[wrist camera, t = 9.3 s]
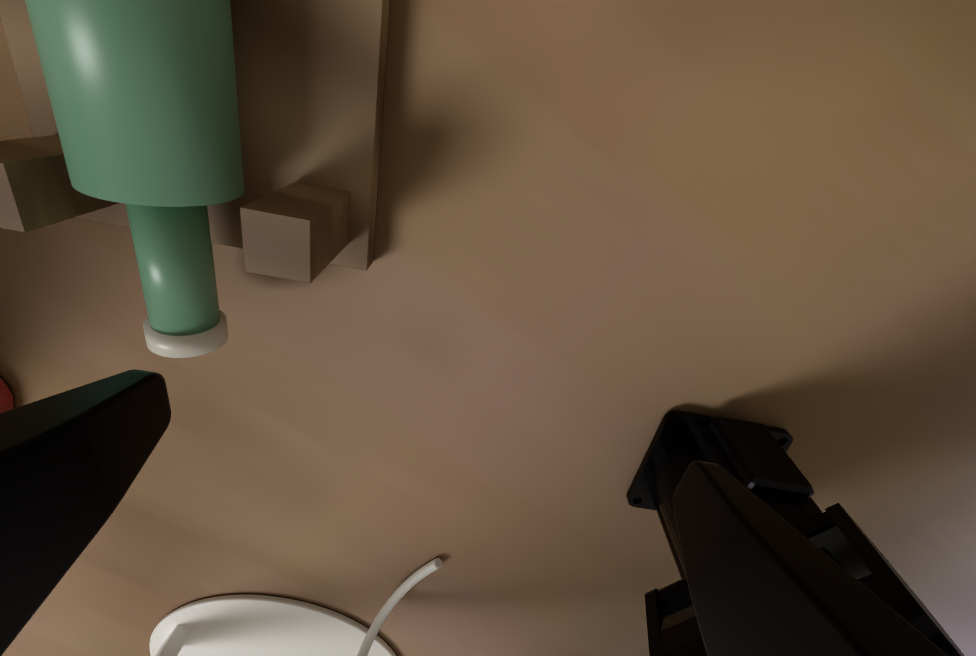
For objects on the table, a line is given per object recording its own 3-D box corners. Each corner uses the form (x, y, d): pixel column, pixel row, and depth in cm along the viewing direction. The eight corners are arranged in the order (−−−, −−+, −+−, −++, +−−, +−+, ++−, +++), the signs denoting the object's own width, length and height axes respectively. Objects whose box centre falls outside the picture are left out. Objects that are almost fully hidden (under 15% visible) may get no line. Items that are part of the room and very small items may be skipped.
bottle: (48, -308, 11) (-187, -525, 7) (242, -252, 11) (126, -424, 8) (161, 304, 19) (80, 364, 15) (272, 319, 19) (223, 380, 15)
